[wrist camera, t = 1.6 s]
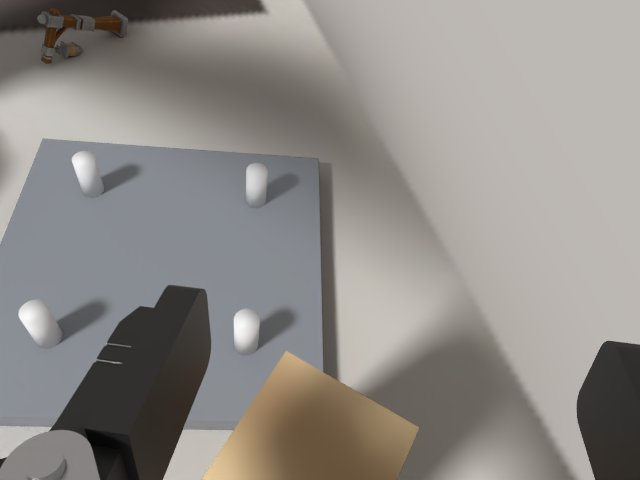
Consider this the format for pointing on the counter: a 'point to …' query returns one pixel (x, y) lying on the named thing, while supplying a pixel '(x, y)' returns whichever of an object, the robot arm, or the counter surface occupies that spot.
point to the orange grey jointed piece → (55, 20)
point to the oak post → (313, 432)
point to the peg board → (157, 268)
